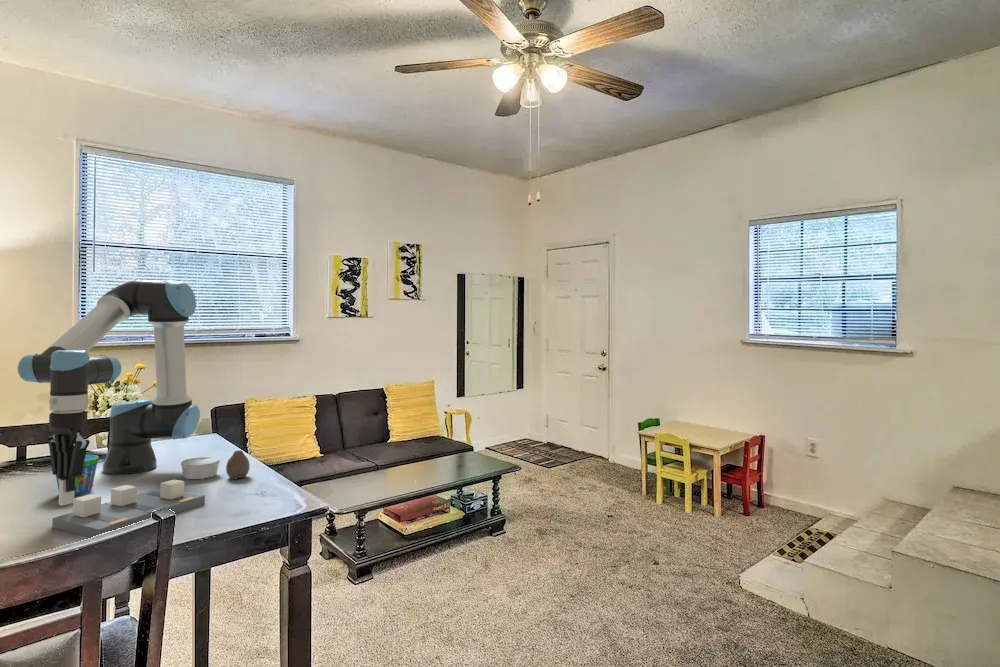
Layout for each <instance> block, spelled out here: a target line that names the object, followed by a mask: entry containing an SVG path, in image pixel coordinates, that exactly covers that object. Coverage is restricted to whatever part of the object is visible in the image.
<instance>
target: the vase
mask: <svg viewBox="0 0 1000 667" xmlns="http://www.w3.org/2000/svg"><path fill="white" fill-rule="evenodd" d="M250 466H251V465H250V461H249V458H248V457H247V456H246V455H245V454H244V451H243V450H234V452H233V454H232V455H231V456H230V458H228V460H227V462H226V466H225V469H226V470H225V471H226V474H227V476H228V477H229V479H231V478H242V477H244V478H245V477H246V476H247V475H249V471H250ZM242 479H243V478H242Z"/></svg>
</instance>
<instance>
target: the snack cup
mask: <svg viewBox="0 0 1000 667" xmlns="http://www.w3.org/2000/svg"><path fill="white" fill-rule="evenodd" d="M99 461H100V457H99V455H97V454H86V455H85V460H84V466H83V471H82V475H81V476H78V477H76V478H75V493H74V497H75V496H79V495H80V496H81V495H84V494H86V493H90V491H92V489H93V486H94V481H95V477H96V470H97V465H98V463H99ZM55 480H56V484H57V489H58V491H59V478H57V475H55Z"/></svg>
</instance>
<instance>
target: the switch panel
mask: <svg viewBox="0 0 1000 667" xmlns="http://www.w3.org/2000/svg"><path fill="white" fill-rule="evenodd" d="M205 498H206V495H205V494H200V493H195V492H188V491H185V490H184V496H181V497H178V498H174V499H171V500H170V499H165V498H160V487H159V488H155V489H151V490H148V491H144V492H139V493H137V502H134V503H131V504H127V505H124V506H117V505H113V504H111V500H110V501H108V502H105V503H101V512H100V513H97V514H93V515H90V516H87V517H80V516H75V515H73V511H72V512H69V513H65V514H62V515H57V516H56V517H52V522H51V523H52V524H51V527H52V529H54V530H59V531H63V532H67V533H69V534H70V533H71V534H75V535H79V536H82V537H85V538H86V537H87V538H90V537H93V536H96V535H99V534H102V533H105V532H108V531H112V530H116V529H118V528H122V527H125V526H128V525H131V524H133V523H137V522H139V521H142V520H146V519H149V518H151V513H152V511H154V510H158V509H162V508H168V509H171V510H172V511H174V512H175V513H176V514H179V513H182V512H184V511H188V510H190V509H193V508H197V507H199V506H201V505H202V506H203V505H205V502H206V501H205V500H206V499H205Z"/></svg>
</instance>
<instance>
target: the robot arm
mask: <svg viewBox="0 0 1000 667" xmlns="http://www.w3.org/2000/svg"><path fill="white" fill-rule="evenodd" d="M196 300H197V299H196V295H195V293H194V290H193V289H192V287H191V286H190V285H189V284H188V283H186V282H183V281H178V280H158V279H157V280H155V279H150V280H149V279H135V280H130V281H127V282H124V283H122V284H120V285H117V286H116V287H113V288H112V289H110V290H108V291H107V292H106V293H104V294H103V295H102V296H101V297H100V298H99V299H98V300H97V302H96V306H95V307H93V309H91V310H90V311H89V312H88V313H87V314H86V315H84V316H83V317H82V318H81V319H80V320H79V321H78V322H76V323H75V324H73V326H72V327H70V328H69V329H68V330H67V331H66V332H64V334H62V335H61V336H60V337H59V338H57V340H55V341H54V342H53V343H52V344H51V345H49V346H48V347H47V348H46V349H45V350H44V351H43V352H42V353H40V354H38V353H34V354H27V355H24V356H23V357H22V358H21V359H20V360H19V362H18V364H17V373H18V375H19V378H20V379H22V380H23V381H24V382H25V381H26V382H29V383H37V384H38V383H39V384H43V383H44V384H45V383H46V384H48V383H49V384H50V385H49V386H50V391H49V395H50V396H49V400H48V403H49V411H51V412H50V414H49V415H48V426H49V427H50V428H51V429H54V431H53V435H51V436H47V437H46V442H47V444H48V448H49V455H50V462H51V463H50V464H51V471H52V475H53V476H56V475H57V478H59V490H58V505H59V506H65V505H70V504H73V499H74V498H75V496H74V493H75V478H76V477H78V476H81V475H82V471H83V466H84V460H85V455H87V449H88V447H89V445H90V439H84V438H83V431H82V430H83V429H82V428H83V427H85V426H87V425H88V411H87V409H88V407H89V406H88V403H89V402H88V401H89V400H88V399H89V398H88V397H89V385H96V384H98V385H99V384H107V383H109V382H113V381H115V380H116V379H118V377H120V375H121V372H122V365H121V362H120V360H118V359H117V358H116V357H115V356H112V355H105V354H104V355H102V354H101V355H89V352H90V350H91V349H93V347H94V346H96V344H98V343H99V342H100V341H101V340H102V339H103V338H104V337H105V336H106V335H107V334H109V332H110V331H112V329H114V327H115V326H117V324H119V323H120V322H121V323H122V322H125V321H127V320H128V319H129V318H130V317H133V316H141V315H142V316H147V322H148V323H150V325H151V326H153V334H154V335H153V336H154V338H153V339H154V355H155V357H154V358H155V361H154V362H155V376H156V379H155V380H156V397H155V398H154V399H153V400H152V399H140V400H139V399H138V400H131V401H125V402H118V403H115V404H113V405H112V407H111V409H110V416H109V449H108V451H107V454H106V456H105V459H104V462H103V464H102V473H105V474H110V475H127V474H128V475H129V474H137V473H142V472H146V471H149V470H153V469H154V468H156V467H157V458H156V455H155V452H154V451H155V450H154V449H153V446H152V439H154V440H155V439H160V440H161V439H164V440H165V439H166V440H167V439H168V440H182V439H183V440H184V439H187V438H190V437H191V436H192V435H193V434H194V432H196V430H197V428H198V425H199V422H200V418H201V417H200V416H201V410H200V408H199V406H198V405H196V404H193V398H192V397H191V396H190V395H189V394H187V374H186V373H187V372H186V368H187V367H186V350H185V349H186V345H185V325H186V324H187V323H188V322H189V321H190V319H189V318H190V317H191V316H193V315H194V313H195V312H196V308H197V301H196Z"/></svg>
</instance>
